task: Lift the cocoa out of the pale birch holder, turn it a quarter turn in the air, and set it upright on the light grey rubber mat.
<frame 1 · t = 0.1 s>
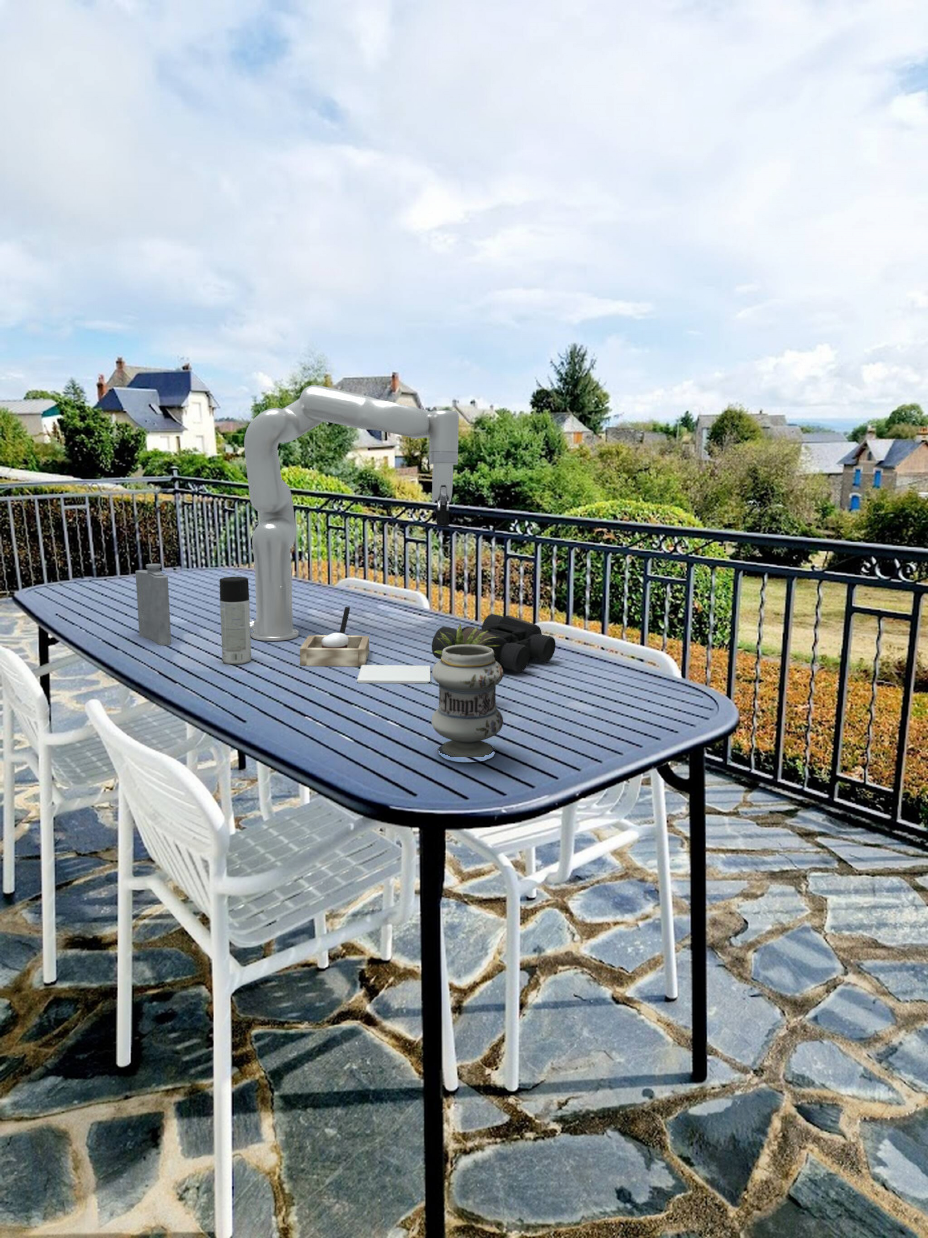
hand: (442, 524, 213), 31 cm above the table, tool pointing down, fingers open, 9 cm apart
cocoa: (335, 659, 195), resting in holder
mat: (394, 675, 181), on the table
apothecary jar: (466, 753, 135), on the table
holder: (335, 658, 195), on the table
house plant: (460, 705, 161), on the table
hip flask: (156, 640, 210), on the table
binoculars: (499, 663, 195), on the table
spray can: (236, 662, 190), on the table
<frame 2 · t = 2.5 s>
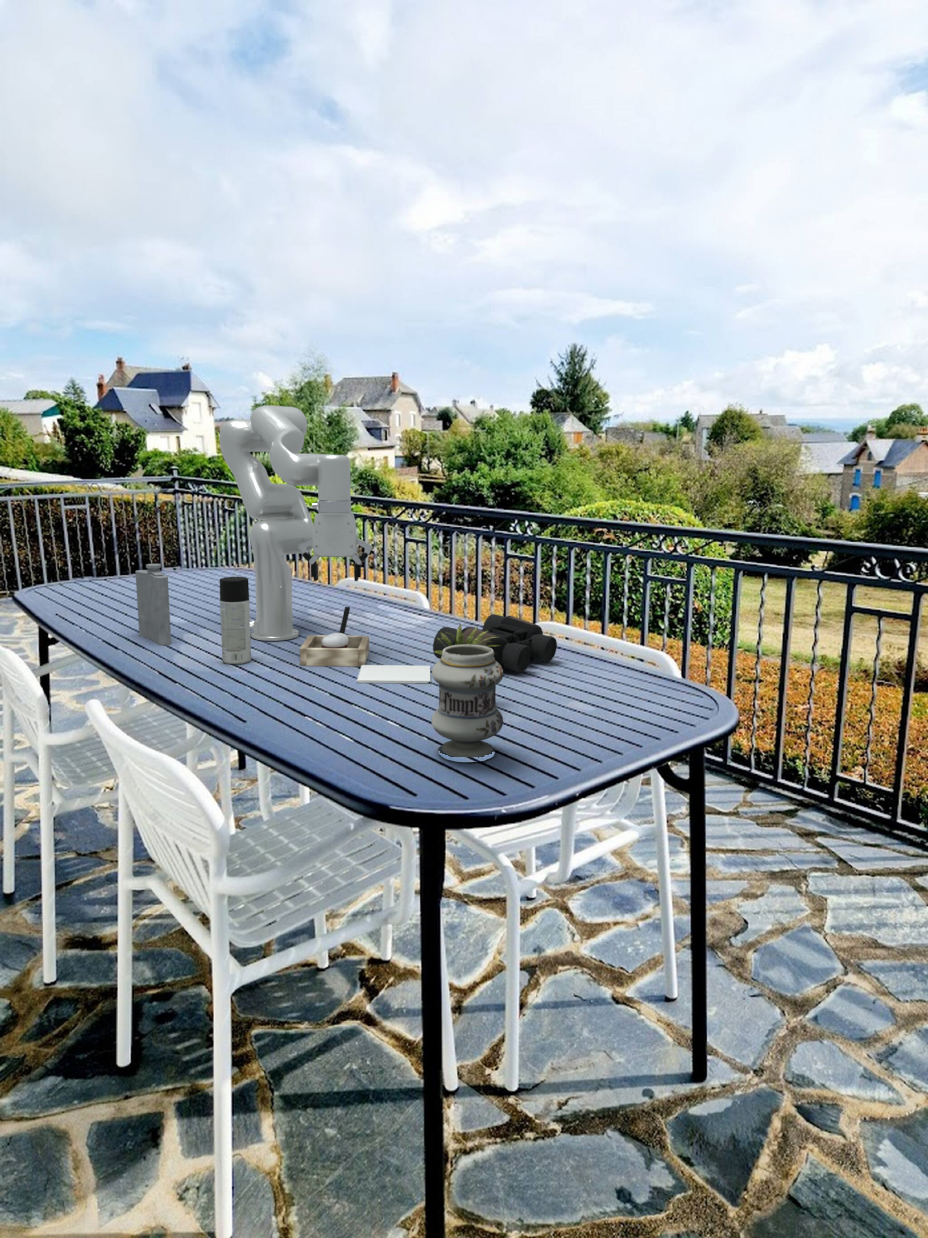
hand: (336, 580, 191), 19 cm above the table, tool pointing down, fingers open, 9 cm apart
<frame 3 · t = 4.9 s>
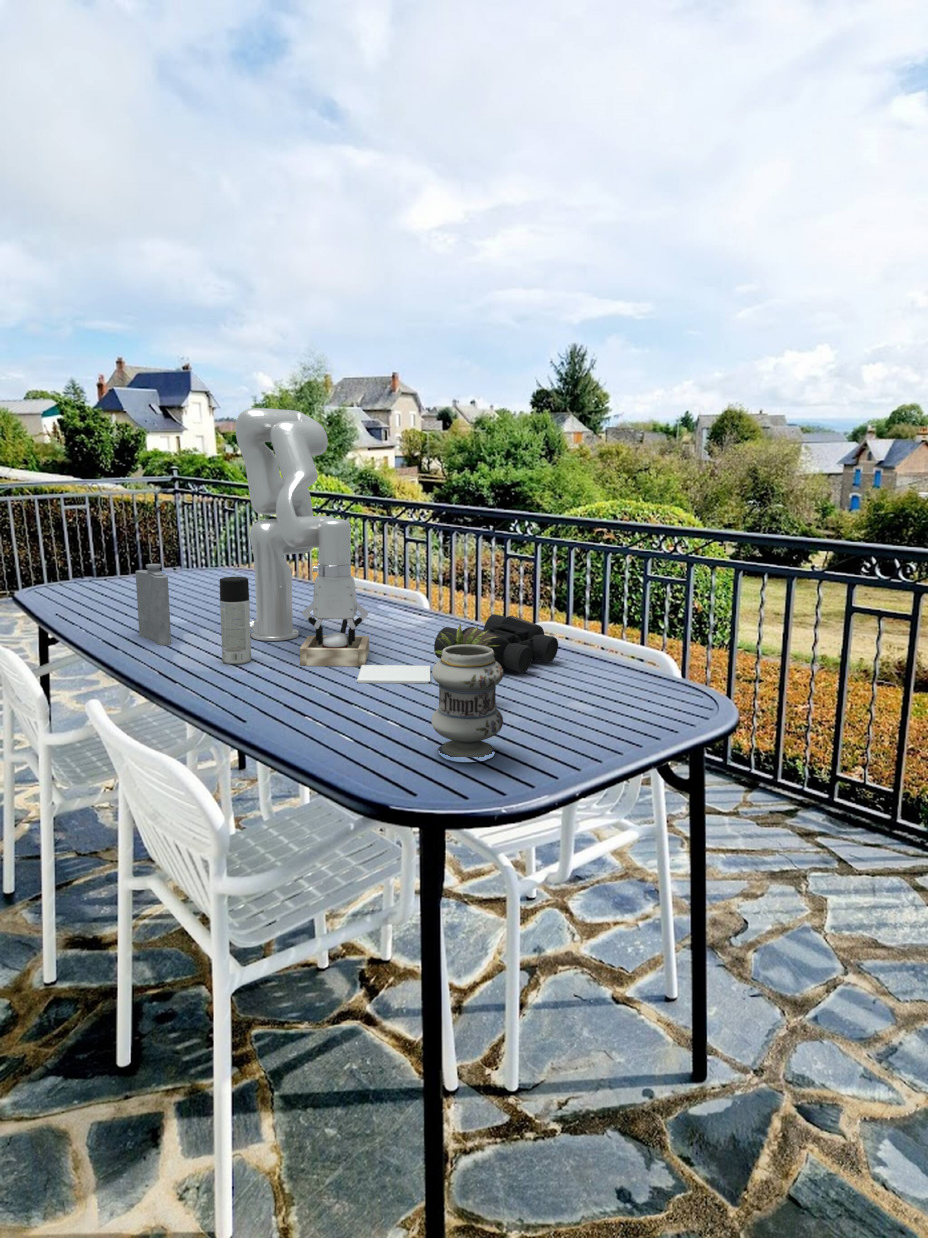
hand: (335, 643, 194), 4 cm above the table, tool pointing down, fingers closed on cocoa, 6 cm apart
cocoa: (336, 659, 195), resting in holder, touching gripper
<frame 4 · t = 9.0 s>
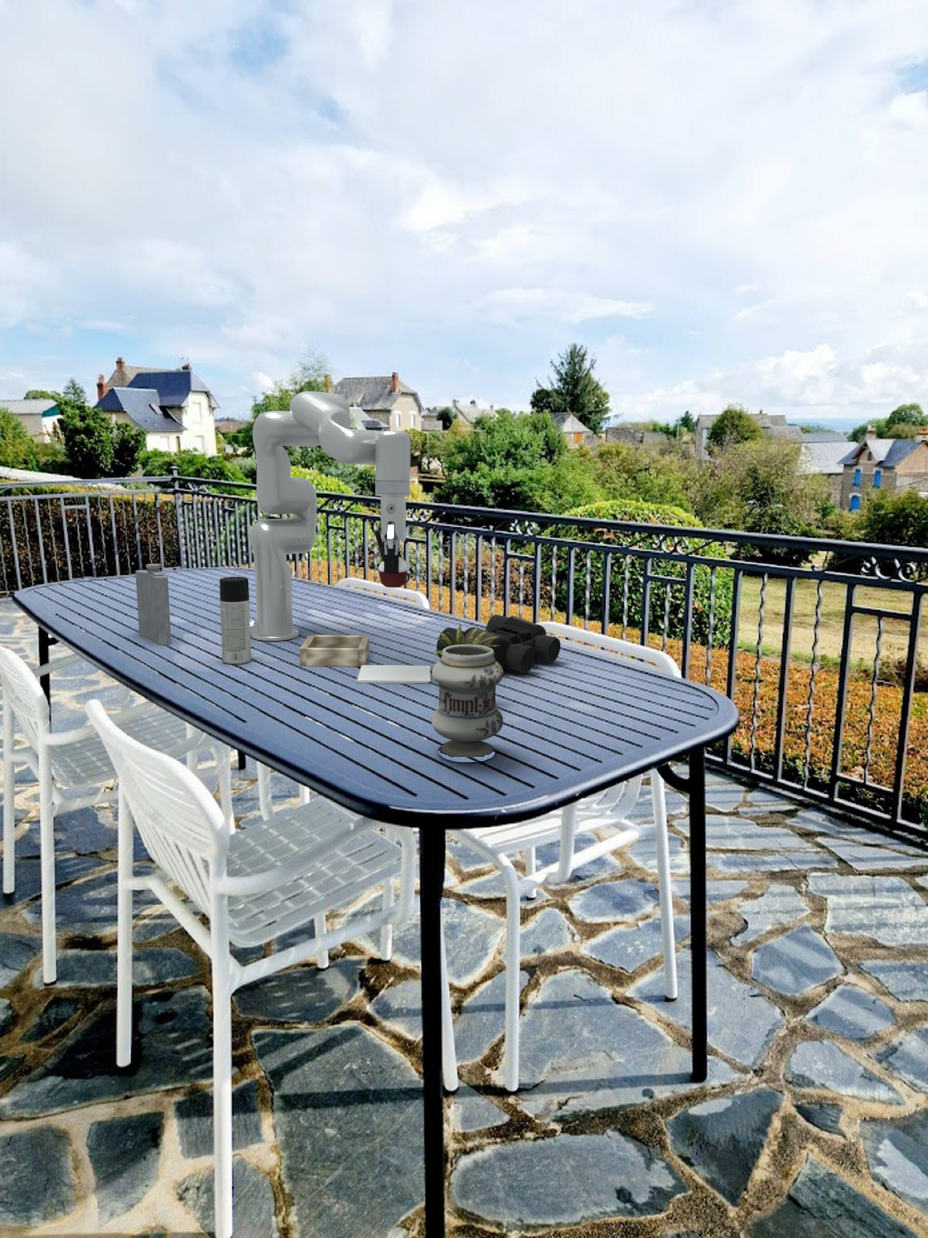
hand: (392, 570, 177), 24 cm above the table, tool pointing down, fingers closed on cocoa, 6 cm apart
cocoa: (392, 587, 178), point 20 cm above the table, touching gripper
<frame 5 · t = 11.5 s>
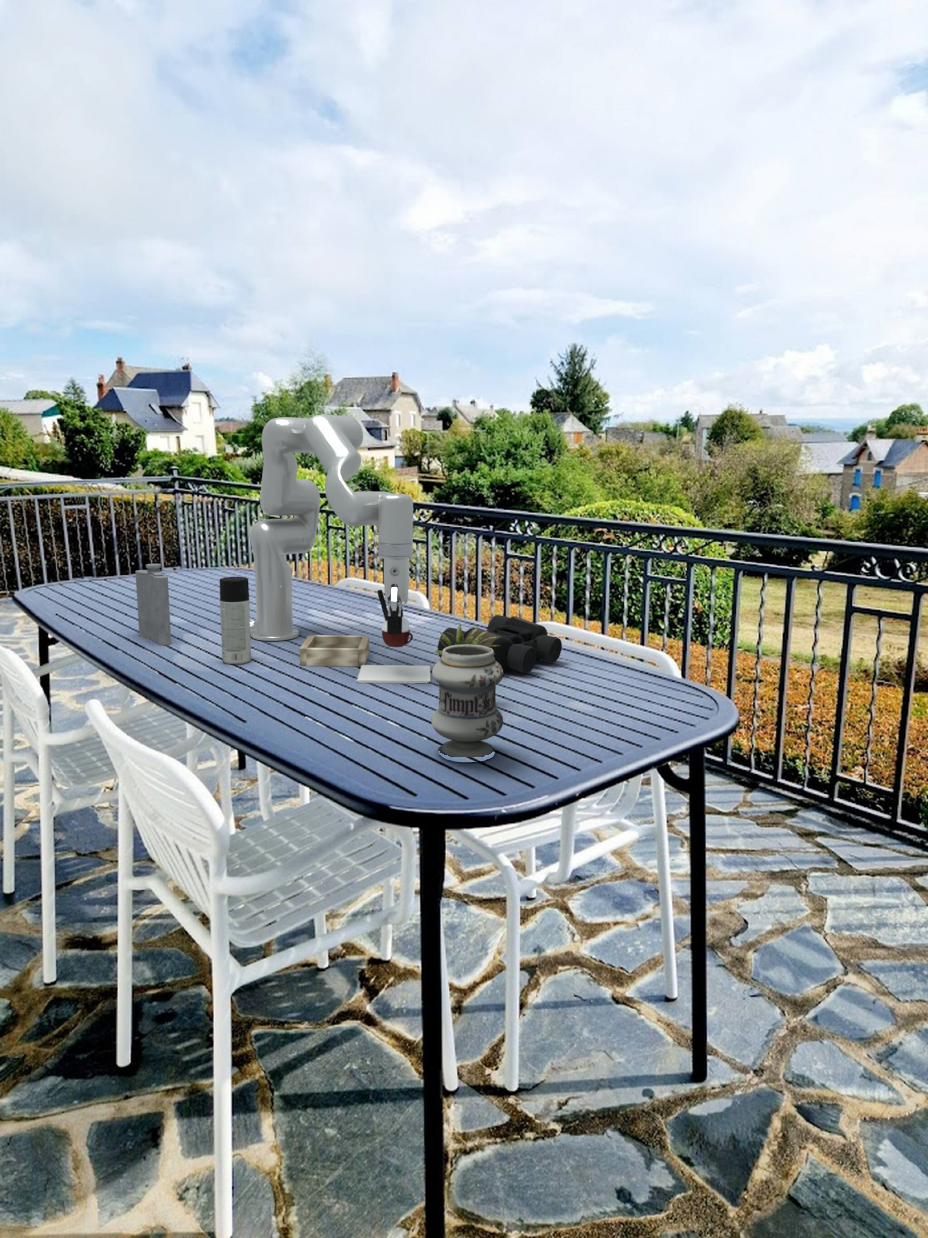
hand: (395, 629, 179), 11 cm above the table, tool pointing down, fingers closed on cocoa, 6 cm apart
cocoa: (395, 646, 180), point 7 cm above the table, touching gripper
when the fingers open (6 cm above the table, at t = 13.5 s): cocoa drops 1 cm, resting on mat.
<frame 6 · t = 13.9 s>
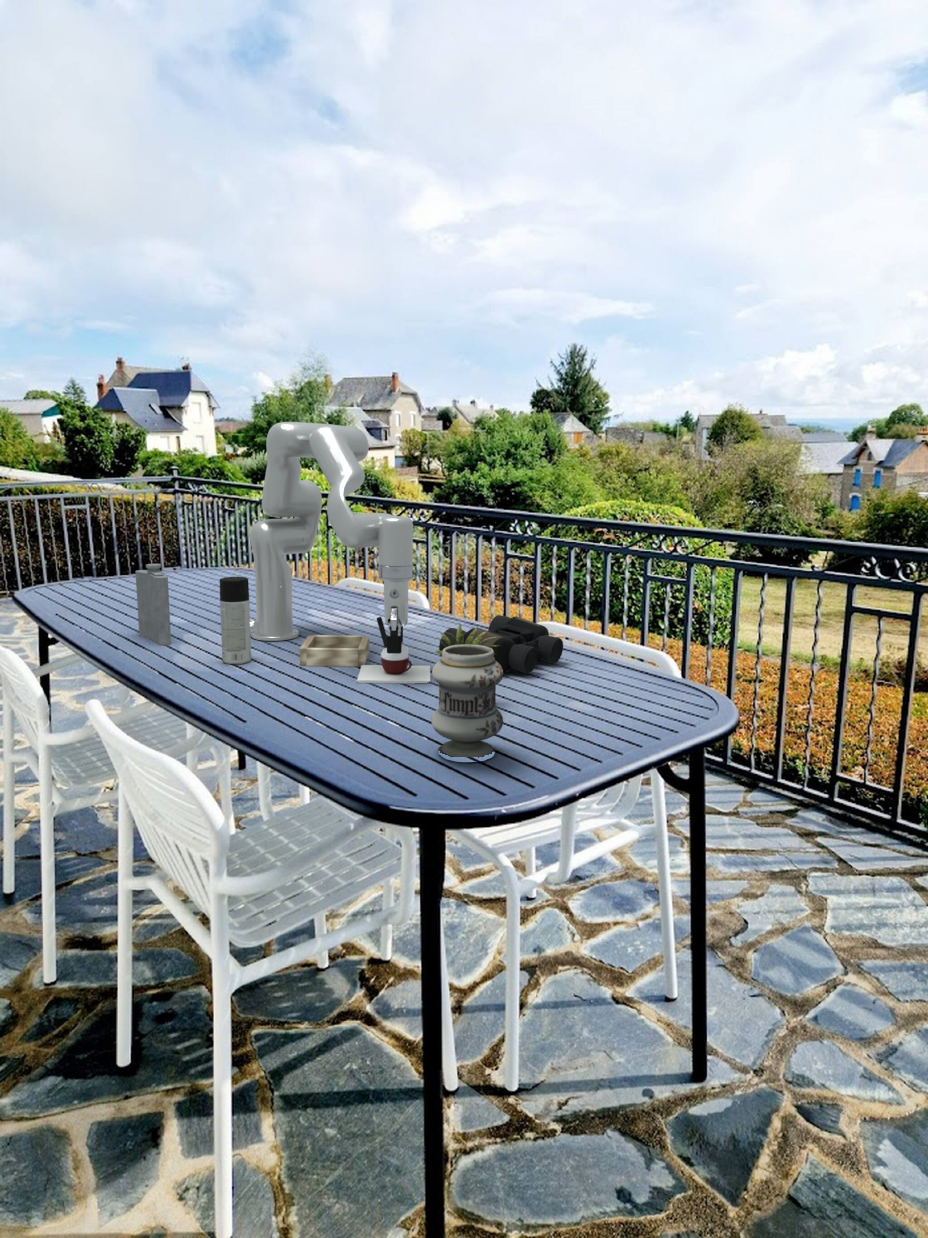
hand: (395, 647, 180), 6 cm above the table, tool pointing down, fingers open, 9 cm apart
cocoa: (394, 672, 182), resting on mat
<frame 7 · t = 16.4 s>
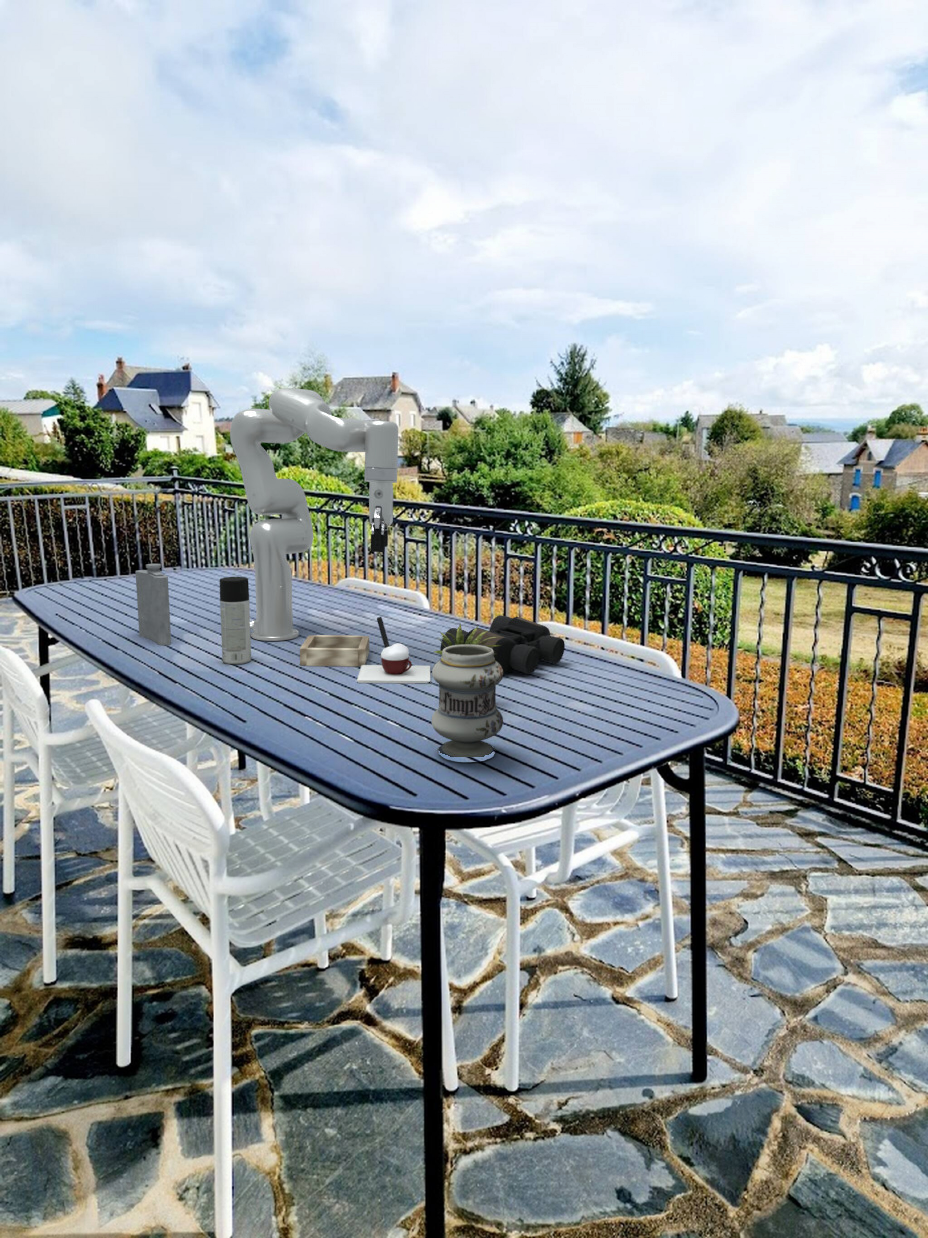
hand: (379, 549, 189), 27 cm above the table, tool pointing down, fingers open, 9 cm apart
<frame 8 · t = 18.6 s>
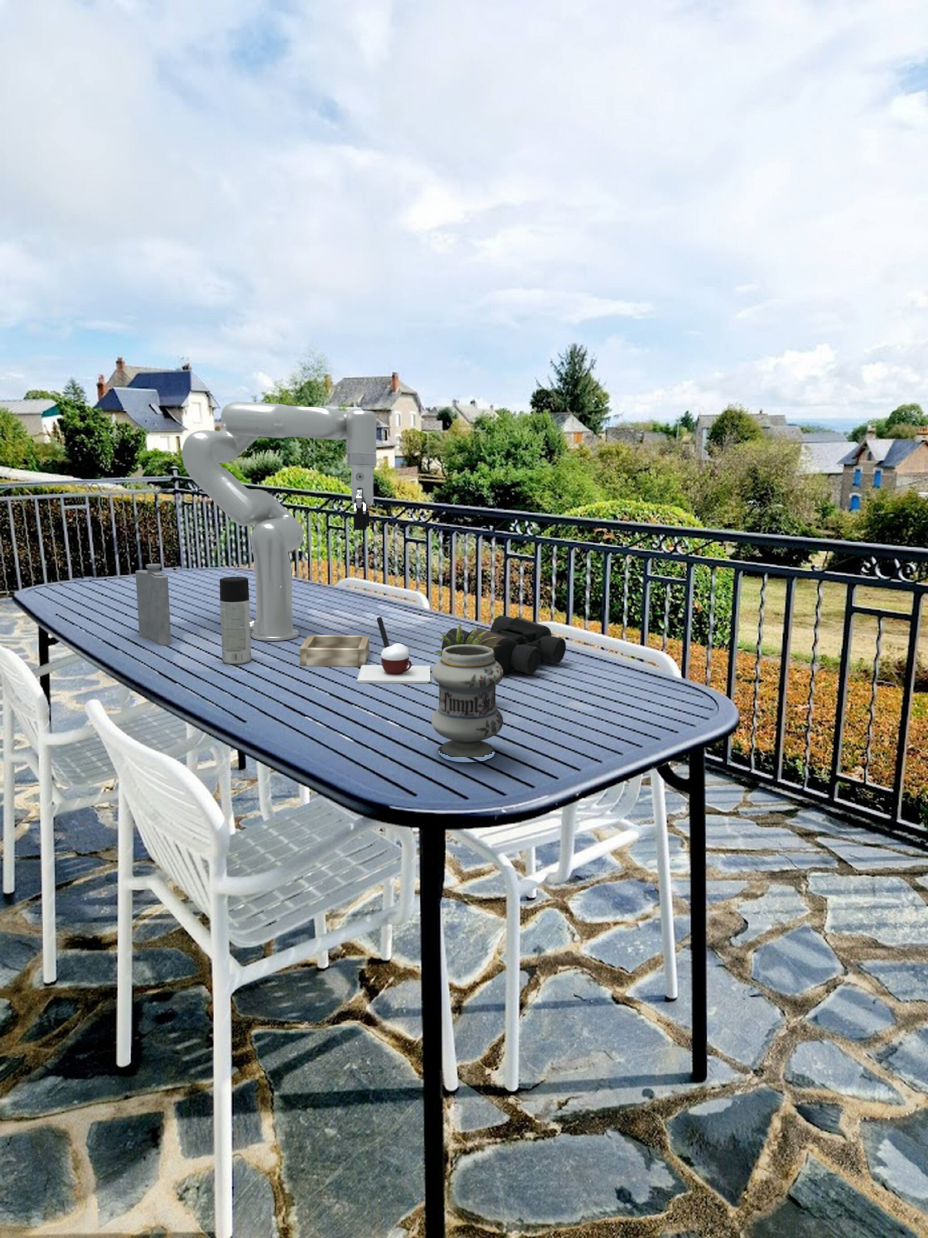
hand: (361, 528, 206), 30 cm above the table, tool pointing down, fingers open, 9 cm apart
at the end: cocoa inside the target area on the mat (0.5 cm from its centre), point 0.4 cm above the mat's base; cocoa tilted 0°; the gripper is holding nothing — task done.
